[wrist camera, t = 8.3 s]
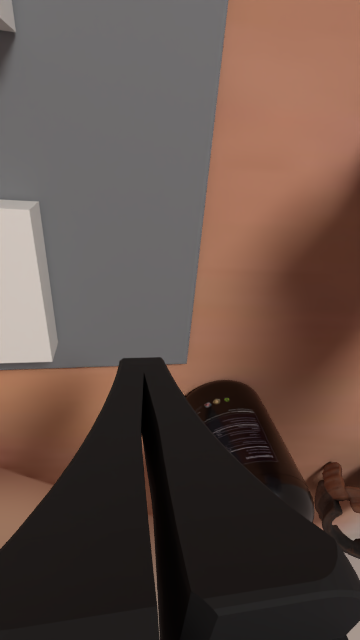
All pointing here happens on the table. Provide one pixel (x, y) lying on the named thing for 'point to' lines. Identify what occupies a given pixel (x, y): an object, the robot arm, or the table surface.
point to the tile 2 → (24, 286)
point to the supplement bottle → (252, 439)
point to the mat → (113, 164)
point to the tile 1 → (7, 16)
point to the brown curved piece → (336, 505)
